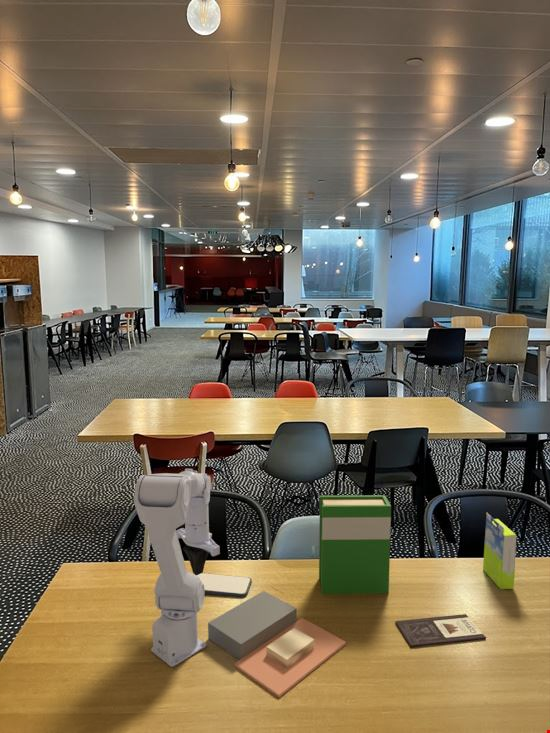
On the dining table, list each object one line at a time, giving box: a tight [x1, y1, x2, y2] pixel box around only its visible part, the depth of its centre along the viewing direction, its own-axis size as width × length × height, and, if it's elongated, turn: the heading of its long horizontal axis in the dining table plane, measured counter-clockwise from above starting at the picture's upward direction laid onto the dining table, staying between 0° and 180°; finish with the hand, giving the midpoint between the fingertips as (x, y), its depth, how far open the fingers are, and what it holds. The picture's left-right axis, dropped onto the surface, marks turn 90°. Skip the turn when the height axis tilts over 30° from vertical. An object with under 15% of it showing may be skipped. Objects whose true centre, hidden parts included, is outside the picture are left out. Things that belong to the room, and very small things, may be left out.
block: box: [207, 590, 298, 661], centre depth 124 cm, size 18×11×4 cm, turn 136°
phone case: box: [196, 572, 253, 599], centre depth 144 cm, size 9×2×16 cm
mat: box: [233, 617, 347, 698], centre depth 116 cm, size 22×13×1 cm, turn 136°
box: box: [482, 512, 517, 590], centre depth 146 cm, size 10×4×17 cm, turn 4°
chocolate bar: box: [394, 613, 486, 649], centre depth 125 cm, size 9×1×18 cm
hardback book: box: [318, 494, 392, 595], centre depth 142 cm, size 18×7×24 cm, turn 91°
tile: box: [266, 628, 315, 668], centre depth 117 cm, size 9×6×2 cm, turn 136°
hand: (198, 573), depth 133 cm, fingers closed
